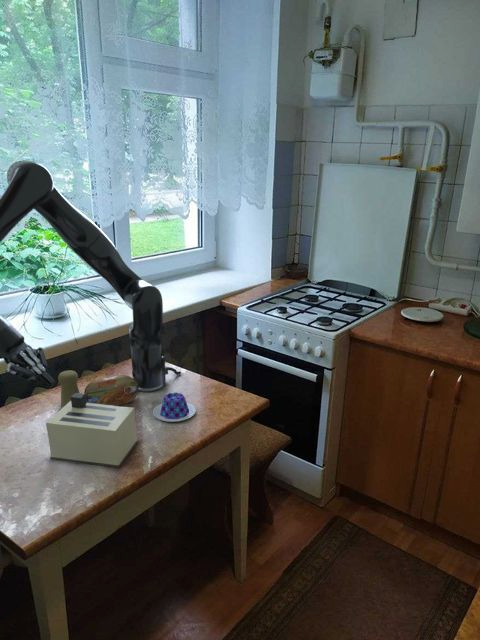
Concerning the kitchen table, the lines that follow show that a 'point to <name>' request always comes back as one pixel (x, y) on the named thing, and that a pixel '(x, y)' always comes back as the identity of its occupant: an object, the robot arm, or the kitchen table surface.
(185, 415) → the pudding
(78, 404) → the slider button
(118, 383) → the tin
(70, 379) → the pepper mill
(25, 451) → the kitchen table surface
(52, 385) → the robot arm
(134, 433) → the toaster
